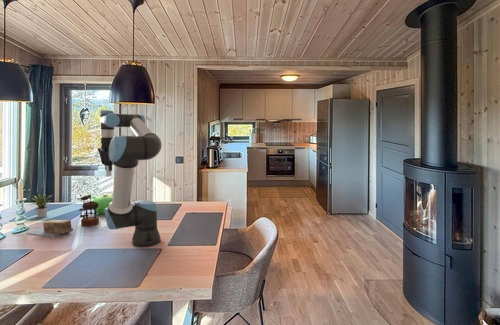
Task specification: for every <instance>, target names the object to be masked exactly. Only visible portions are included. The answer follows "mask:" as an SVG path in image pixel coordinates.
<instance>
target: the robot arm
mask: <svg viewBox="0 0 500 325" xmlns="http://www.w3.org/2000/svg"><path fill="white" fill-rule="evenodd" d="M99 125H100V131H99V133H100V144H101V145H100V147H99V148H97V151H98V153H99V158H100V161H101V165H104V169H105V170H104V171H105V173H106V174H105V176H106V177H112V171H113V166H115V168H114V176H113V178H114V179H113V188H112V189H113V190H112V193H113V200H112V202H111V203H110V204H109V208H108V207H107V208H105V214H104V216H105V221H106V225H107V228H108V229H109V230H118V229H125V228H131V227H134V232H133V235H132V239H131V244H132V245H133V246H135V247H141V248H142V247H143V248H144V247H145V248H146V247H153V246H155V245H158V244H159V243H160V242H161V234H160V232H159V230H158V229H159V228H158V208H157V207H158V206H157V203H156V202H154V201H153V200H152V201H151V200H146V199H145V200H144V199H143V200H135V201H134V202H133V203H134V204H133V203H132V202H131V198H132V190H133V184H134V183H133V182H134V173H135V168H137V167H138V165H139V161H147V160H152V159H154V158H155V157H157V155H159V153H160V152H161V150H162V146H163V144H162V141H161V138H160V137H159V135H157V134H156V133H153V132H152V131H151V129H150V128H149V127H148V126H147V124H146V117H145V115H143V114H138V113H137V114H135V113H134V114H133V113H131V114H128V113H127V114H126V113H115V112H114V111H113V110H105V109H104V110H103V109H102V110H100V111H99ZM115 128H130V129H131V130H132V131H133V133H134V134H135V135H118V136H117V135H115Z"/></svg>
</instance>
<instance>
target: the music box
mask: <svg viewBox="0 0 500 325" xmlns="http://www.w3.org/2000/svg"><path fill="white" fill-rule="evenodd" d="M76 199H77V201H79V200H80V201H83V203H82V208H79V209H78V210H79V212H80V215H79V217H80V218H81V219H80V218H79V219H80V223H81V224H80V225H81V226H82V227H93V226H97V225H99V224H100V217H98V216H97V215H98V214H99V212H96V208H98V206H99V204H98V203H97V202H93V200H92V195H91V194H87V195H84V196H82V197H80V198H76ZM89 199H90V200H89ZM87 200H89V201H87ZM85 201H87V202H85ZM93 209H94V210H93ZM100 210H104V209H100ZM88 211H89V212H88ZM93 211H94V212H93ZM83 212H84V214H83ZM92 215H93V216H92Z"/></svg>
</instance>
